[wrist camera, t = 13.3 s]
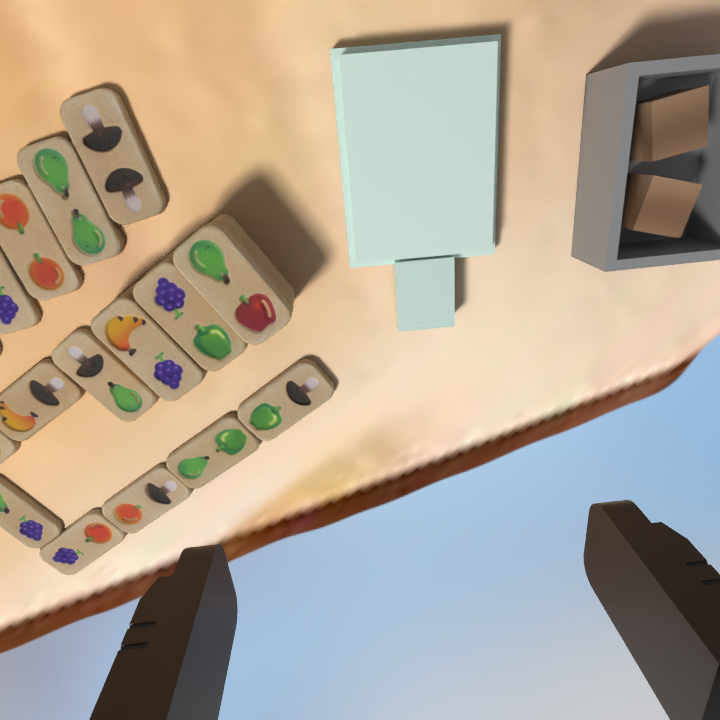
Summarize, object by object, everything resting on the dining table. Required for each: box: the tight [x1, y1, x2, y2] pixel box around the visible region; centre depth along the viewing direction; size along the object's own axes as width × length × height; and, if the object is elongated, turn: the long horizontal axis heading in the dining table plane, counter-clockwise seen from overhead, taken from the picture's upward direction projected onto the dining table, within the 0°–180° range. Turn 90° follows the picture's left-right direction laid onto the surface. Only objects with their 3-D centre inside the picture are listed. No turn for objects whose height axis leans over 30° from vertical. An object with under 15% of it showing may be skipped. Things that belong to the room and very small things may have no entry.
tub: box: [571, 54, 720, 272], centre depth 32 cm, size 12×9×5 cm
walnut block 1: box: [629, 85, 709, 162], centre depth 32 cm, size 4×4×3 cm
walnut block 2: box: [621, 173, 702, 238], centre depth 34 cm, size 4×4×3 cm
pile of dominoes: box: [0, 88, 334, 575], centre depth 37 cm, size 35×27×6 cm
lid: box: [330, 34, 501, 332], centre depth 34 cm, size 18×11×2 cm, turn 5°
